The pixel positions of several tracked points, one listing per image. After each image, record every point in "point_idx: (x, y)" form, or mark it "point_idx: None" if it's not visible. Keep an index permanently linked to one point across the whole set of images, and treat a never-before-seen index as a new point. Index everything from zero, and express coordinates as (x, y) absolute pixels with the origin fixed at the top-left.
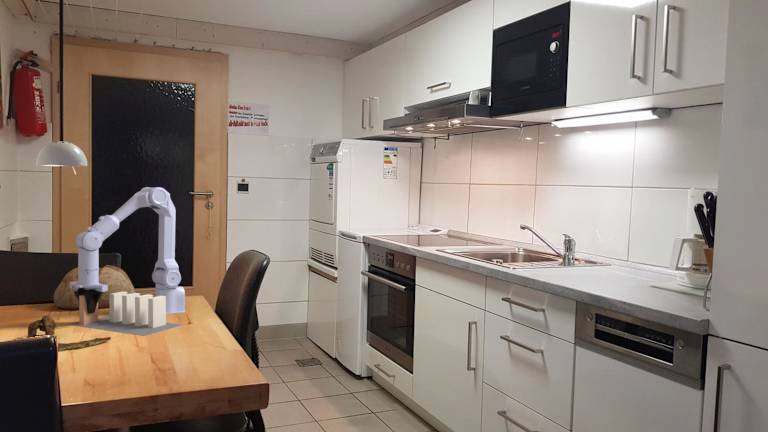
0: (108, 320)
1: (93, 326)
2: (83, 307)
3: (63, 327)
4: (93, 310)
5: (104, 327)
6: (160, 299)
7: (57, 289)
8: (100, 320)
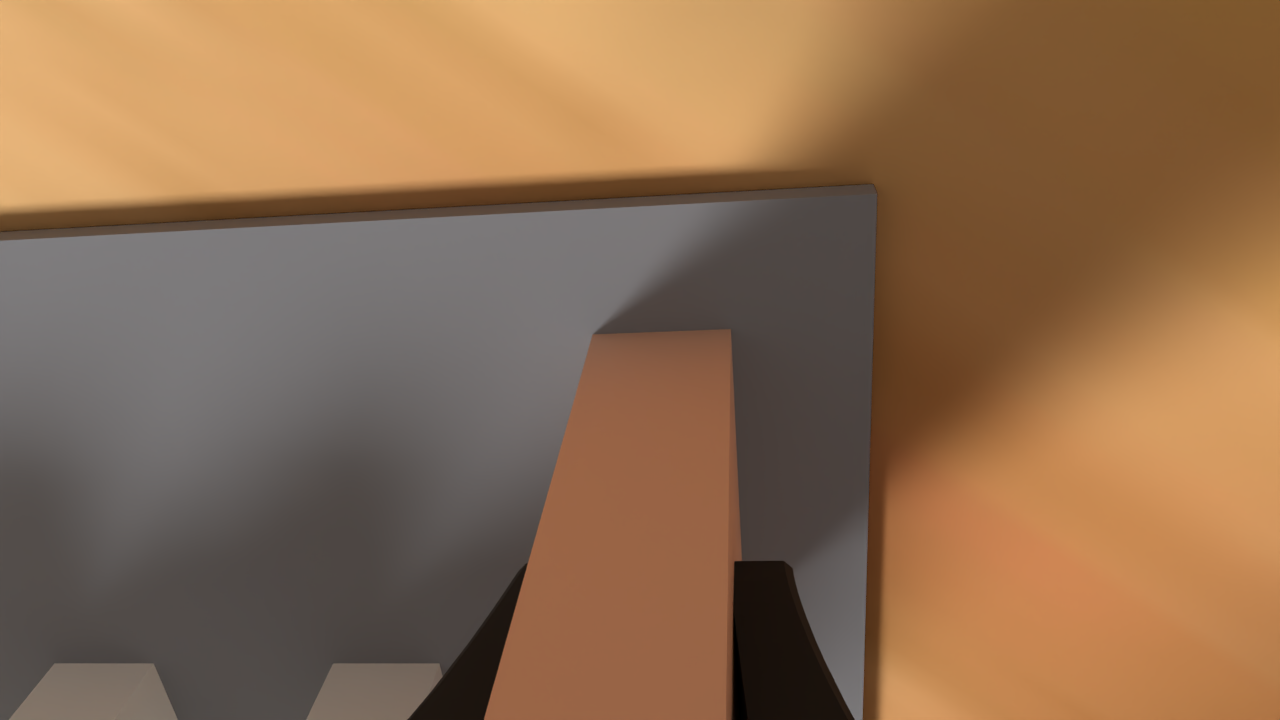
0: None
1: (298, 334)
2: (534, 588)
3: (883, 32)
4: None
5: (61, 376)
6: None
7: None
8: None
